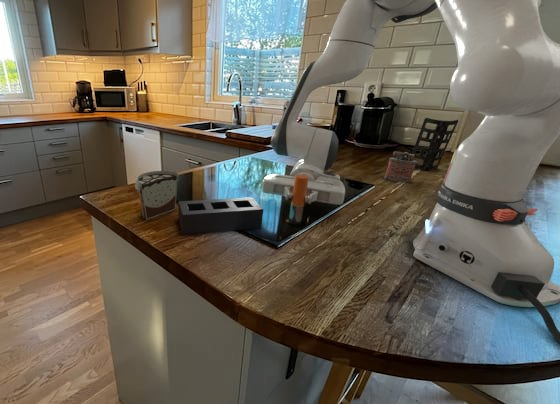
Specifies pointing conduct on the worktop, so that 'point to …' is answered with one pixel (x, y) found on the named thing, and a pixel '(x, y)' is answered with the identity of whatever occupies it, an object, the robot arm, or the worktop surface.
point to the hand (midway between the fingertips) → (298, 198)
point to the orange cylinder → (298, 199)
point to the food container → (157, 192)
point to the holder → (433, 143)
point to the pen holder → (219, 215)
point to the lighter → (400, 167)
